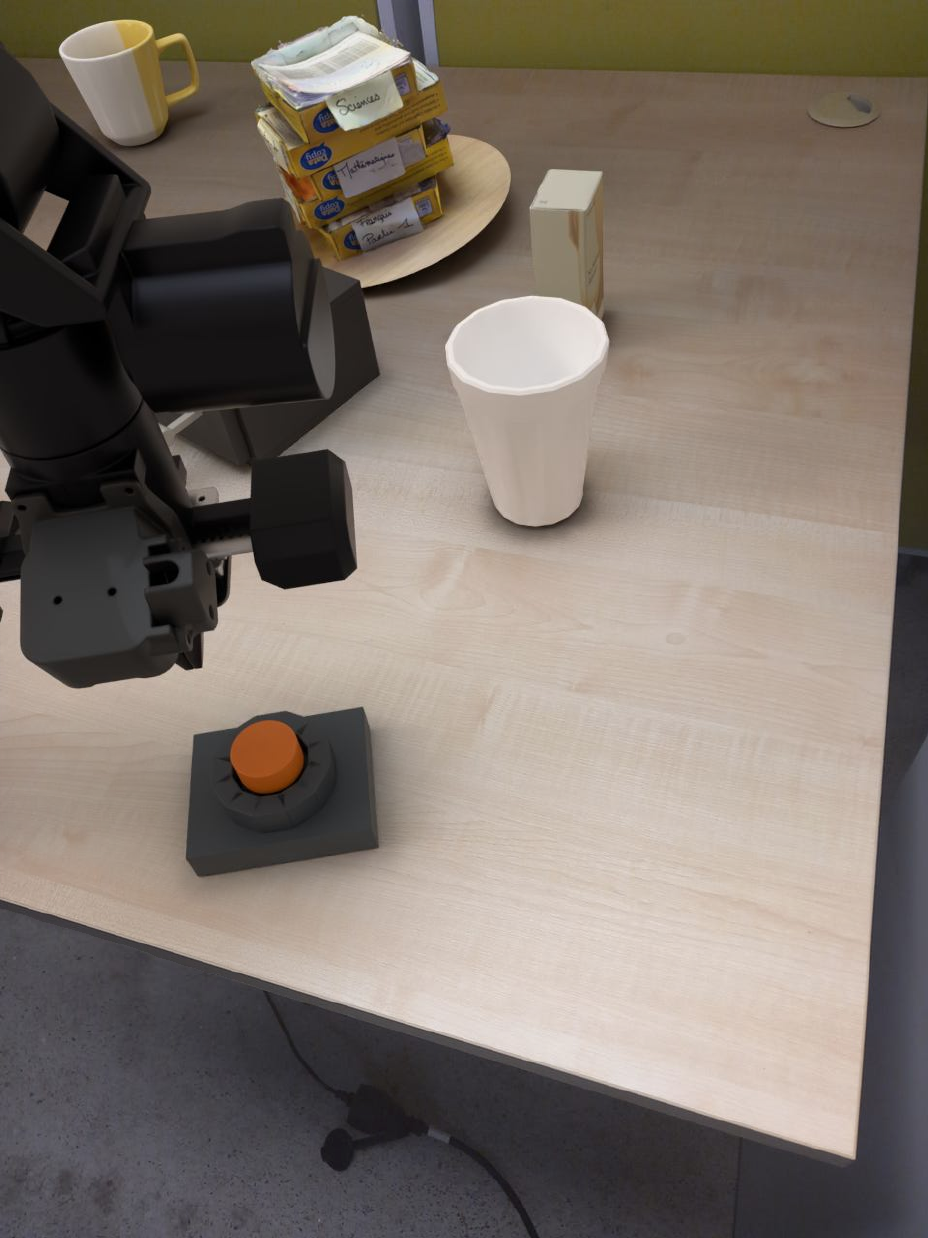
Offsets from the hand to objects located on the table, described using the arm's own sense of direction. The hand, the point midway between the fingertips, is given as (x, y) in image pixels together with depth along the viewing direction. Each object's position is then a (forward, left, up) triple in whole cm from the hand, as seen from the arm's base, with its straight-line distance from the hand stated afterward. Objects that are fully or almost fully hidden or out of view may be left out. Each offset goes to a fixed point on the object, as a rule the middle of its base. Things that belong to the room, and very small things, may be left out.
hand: (195, 662), depth 50 cm
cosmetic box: (+26, +39, -12) cm, 48 cm away
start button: (+2, -1, -8) cm, 8 cm away
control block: (+2, -1, -12) cm, 12 cm away
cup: (+20, +20, -12) cm, 30 cm away
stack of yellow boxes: (+12, +61, -12) cm, 63 cm away
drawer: (-2, +34, -11) cm, 36 cm away
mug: (-13, +91, -12) cm, 92 cm away
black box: (+1, +37, -12) cm, 38 cm away
